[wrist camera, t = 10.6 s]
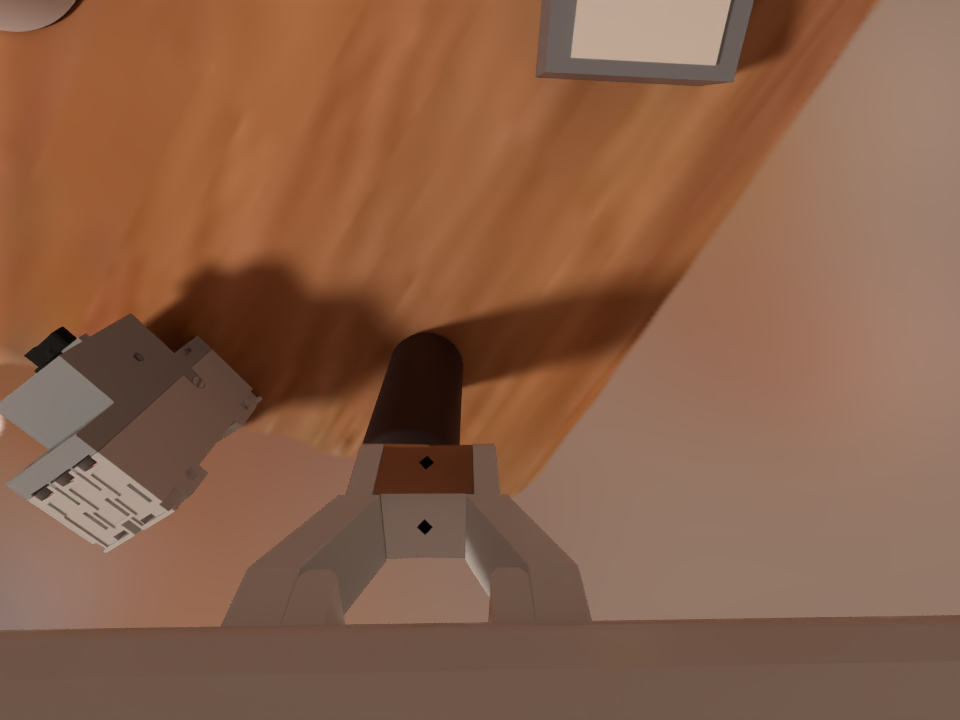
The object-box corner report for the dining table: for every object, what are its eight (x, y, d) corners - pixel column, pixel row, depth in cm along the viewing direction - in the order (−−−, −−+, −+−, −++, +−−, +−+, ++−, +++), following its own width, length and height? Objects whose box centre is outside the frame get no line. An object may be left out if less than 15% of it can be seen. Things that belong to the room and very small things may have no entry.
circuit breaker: (142, 281, 41) (-19, 363, 27) (263, 398, 46) (178, 513, 33) (87, 325, 42) (-89, 422, 29) (209, 432, 48) (108, 555, 35)
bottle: (386, 386, 46) (330, 559, 28) (397, 324, 43) (344, 473, 25) (454, 400, 47) (442, 577, 29) (470, 340, 44) (468, 496, 26)
